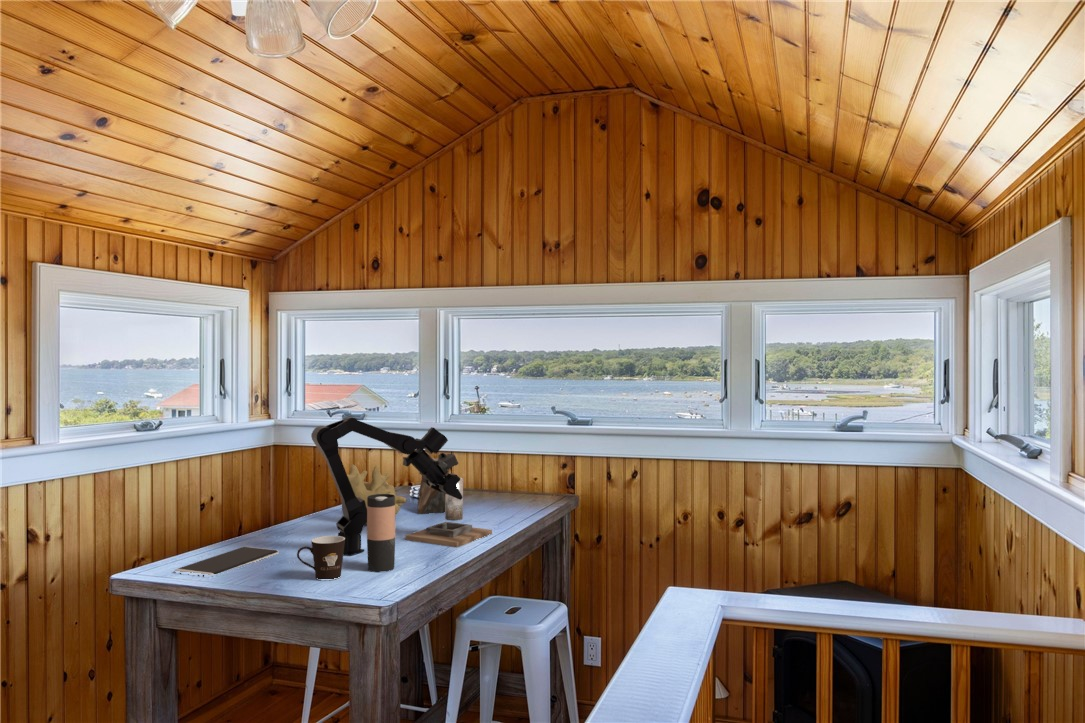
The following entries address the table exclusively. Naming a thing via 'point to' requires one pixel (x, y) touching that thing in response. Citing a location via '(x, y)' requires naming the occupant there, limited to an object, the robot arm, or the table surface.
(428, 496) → the brown carved rock
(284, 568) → the table surface
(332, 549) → the coffee mug
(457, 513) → the steel cup
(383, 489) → the decorative coral
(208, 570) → the dark rectangular slab
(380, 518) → the travel mug
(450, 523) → the brown flat square board
